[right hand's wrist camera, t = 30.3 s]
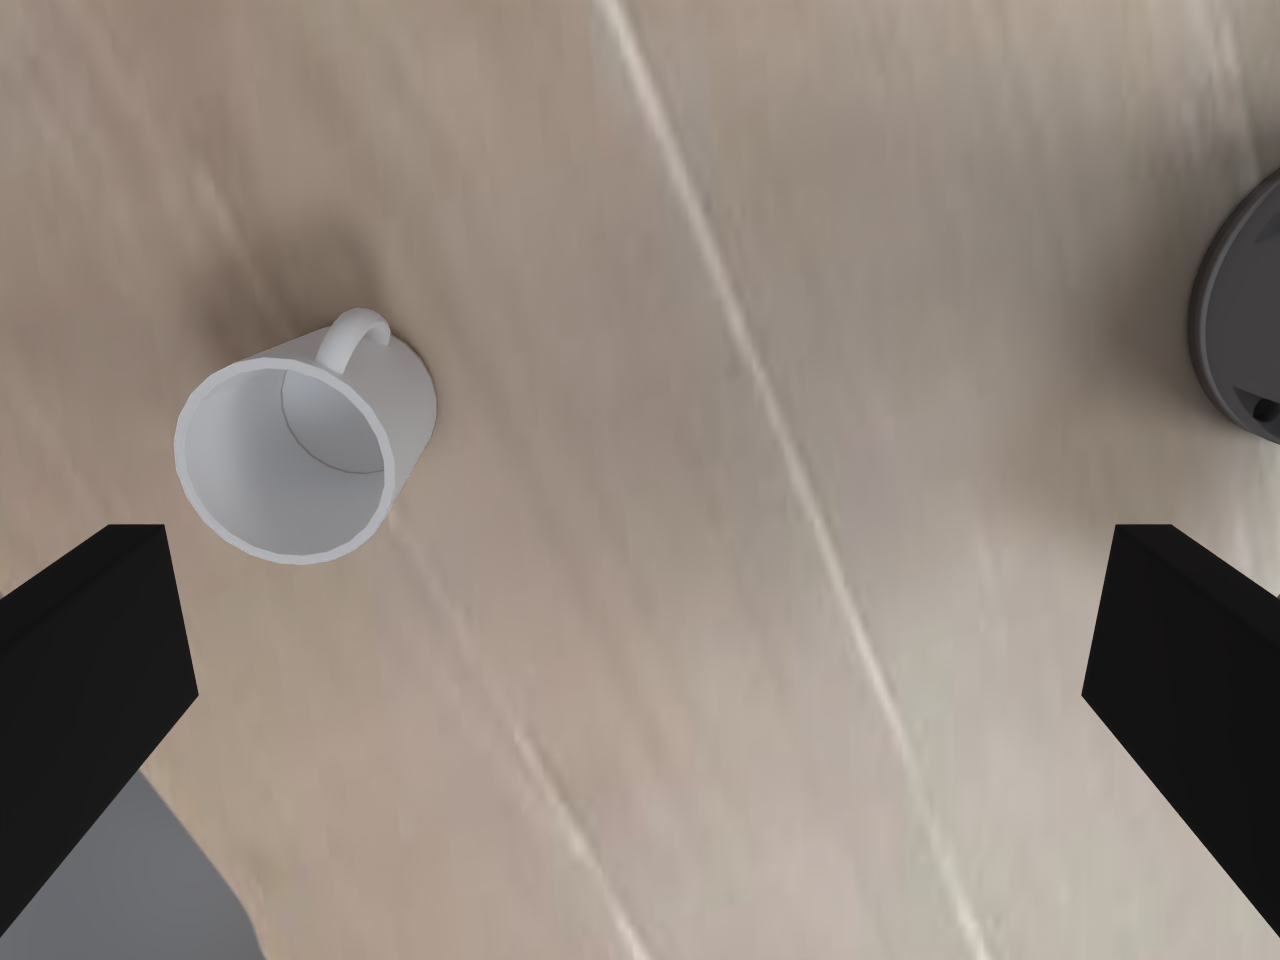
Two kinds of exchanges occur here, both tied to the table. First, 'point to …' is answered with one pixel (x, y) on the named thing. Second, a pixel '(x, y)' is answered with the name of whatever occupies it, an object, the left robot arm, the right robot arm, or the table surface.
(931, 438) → the table surface
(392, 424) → the mug
